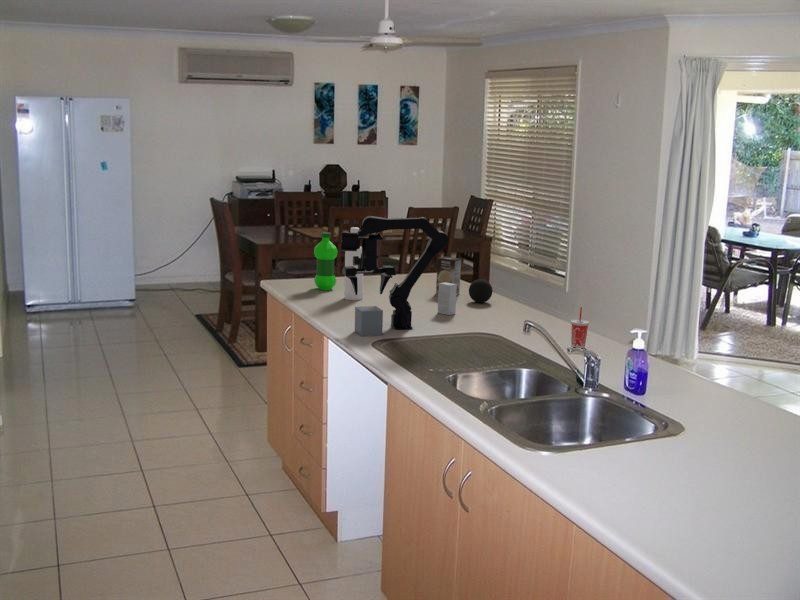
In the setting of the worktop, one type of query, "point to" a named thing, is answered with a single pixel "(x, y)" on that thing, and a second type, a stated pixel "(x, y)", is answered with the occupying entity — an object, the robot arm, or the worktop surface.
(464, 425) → the worktop surface
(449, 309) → the skincare box
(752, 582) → the worktop surface
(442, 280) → the coffee box
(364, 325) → the grey block
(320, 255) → the plastic bottle
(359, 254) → the bottle
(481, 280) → the speaker
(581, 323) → the beverage cup
